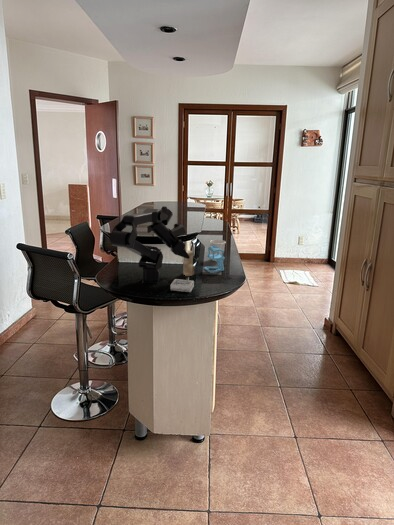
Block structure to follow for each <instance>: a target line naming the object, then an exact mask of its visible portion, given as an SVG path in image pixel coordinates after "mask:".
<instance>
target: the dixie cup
mask: <svg viewBox="0 0 394 525" xmlns="http://www.w3.org/2000/svg"><path fill="white" fill-rule="evenodd" d="M226 243H227V242H226V240H222V239H212V240H210V241H209V247H210V246H216V247H219V248H220V249H222V250H225V245H226ZM214 254H217V252H215V253H214ZM219 254H220V255H222V252H221V251H219ZM210 255H213V252H212V251H210ZM211 261H212V262H213V261H214V262H216V260H211Z"/></svg>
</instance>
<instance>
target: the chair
mask: <svg viewBox="0 0 394 525" xmlns="http://www.w3.org/2000/svg"><path fill="white" fill-rule="evenodd" d="M207 250H208V251H207V252H208V253H207V254H206V257H207V258H209V259H210V260H211V261H212V260H216V261H215V262H216V263H217V265H218V266H204V270H205V271H206V272H208V273H209V274H215V273H218V272H222V271H224V272H225V267H224V260H226V257H225V256H224V253H225V249H224V250H222V249H220V248H219V247H216V246H210V245H209V246H208V247H207ZM211 251H212V252H213V255H211ZM219 251H221V252H222V255H220V254H219ZM215 252H217V254H214V253H215Z"/></svg>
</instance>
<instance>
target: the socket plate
mask: <svg viewBox="0 0 394 525" xmlns="http://www.w3.org/2000/svg"><path fill="white" fill-rule="evenodd" d="M194 287H195V281H194V280H190V279H179V278H174V279H173V281H172V282H171V284H170V291H176V292H186V293H191V292H192V290H193V289H194Z"/></svg>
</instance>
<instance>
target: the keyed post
mask: <svg viewBox="0 0 394 525" xmlns="http://www.w3.org/2000/svg"><path fill="white" fill-rule="evenodd" d="M186 252H187V253H188V255H189V257H190V258H189V259H187V258H184V257H182V258H183V259H182V266H183V267H182V274H183V276H184V275H185V276H184V277H191V276H193V275H195V265H193V264H194V263H193V262H194V260H193V259H194V252H193V251H192V250H186Z"/></svg>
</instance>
